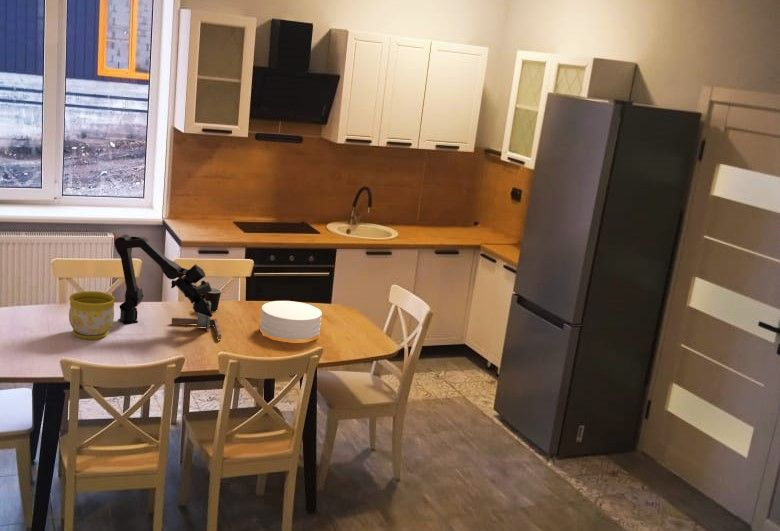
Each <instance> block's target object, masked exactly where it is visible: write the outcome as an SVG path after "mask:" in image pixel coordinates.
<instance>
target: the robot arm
mask: <svg viewBox="0 0 780 531" xmlns="http://www.w3.org/2000/svg"><path fill="white" fill-rule="evenodd" d="M113 243H114V247H115V249H116V252H117V254H118V256H119V257H120V262H121V265H122V266H121V267H122V271H123V278H124V282H125V292H124V293H125V294H124V301H123V303H121V304H120V305H119V309H120V312H119V313H120V314H119V317H120V318H118V319H117V320H118V321H119V322H120V323H122V324H124V325H129V324H137V323H139V321H138V314H139V313H138V312H139V311H138V308H137V307H138V306H139V305H140V304H141V303H142V302H143V299H144V294H143V288H139V286H138V284H137V279H136V274H135V273H136V272H135V268H134V263H133V257H132V252H133V249H134V248H135V249H136V248H137V249H138V248H140V249H141V250H142V251H143V252H144V253H145V254H146V255H148V256H149V257H150V259H152V260H153V262H155V263H156V264H157V265H158V266H159V267H160V269H161V271H162V273H163V274H164V276H166V278H167V279H169V280H171V287H170V289H174V288H175V287H176V288H177V289H178V290H179V291H180V292H181V294H183V295H184V298H187V299H188V300H189V301H190V303H191V304H192V310H193V312H195V313H198V312H199V313H201V314H204V315H207V316H209V317H210V318H211V317H213V314H212V312H210V311H209V309H208V308H207V301H206V300H205V294H204V293H207V292H211V291H212V289H211V288H212V287H211V284H210V282H208V281H205V280H203V279H204V278H206V272H205V271H204V269H203V268H202V267H200V266H198V265H197V264H194V265H193V266H191V267H190V268H189V269H187V268H184V267H182V266H180V265H179V264H178V263H176V262H175V261H173V260H171V259H169V258H167V256H165V255H164V254H163V253H162V252H161V251H160V250H159V249H158V248H157V247H156V246H154V244H153V243H151V242H150V241H149V239H148V238H147V237H144V236H143V237H141V236H140V237H139V236H130V235H129V234H123V235H120V236H119V237H117V238H116V239H115V240H114V242H113ZM199 281H200V284H199V285H195V284H196V283H198V282H199Z"/></svg>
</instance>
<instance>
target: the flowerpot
mask: <svg viewBox="0 0 780 531" xmlns="http://www.w3.org/2000/svg"><path fill="white" fill-rule="evenodd" d="M68 299H69V301H70V303H69V306H70V307H69V311H68V321H69V325H70V326H71V328H72V333H73V334H74V335H75V336H76V338H79V339H84V340H99V339H102V338H105V337H107V335H108V334H109V332H110V328H111V327H112V325H113V323H114V319H115V308H114V306H115V302H116V297H115V296H114V295H112V294H110V293H106V292H102V291H95V290H94V291H91V290H90V291H88V290H87V291H79V292H75V293H73V294H71V295H70V296H69V298H68Z"/></svg>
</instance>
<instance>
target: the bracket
mask: <svg viewBox="0 0 780 531" xmlns="http://www.w3.org/2000/svg"><path fill="white" fill-rule="evenodd" d="M207 308H208V309H209V311H210V312H211V302H210V301H207ZM211 313H212V312H211ZM210 319H211V317H209V316H207V315H204V314H201V313H199V312H197V325H196V328H197V327H206V329H205V330H209V331H210V326H209V325H210Z"/></svg>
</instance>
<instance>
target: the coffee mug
mask: <svg viewBox="0 0 780 531" xmlns="http://www.w3.org/2000/svg"><path fill="white" fill-rule="evenodd" d="M211 289H212V291H211V292H207V293H204V294H205V300H206V301H210V302H211V311H216V310H217V311H218V308H219V304H220V299H221V294H222V290H221V289H219V288H216V287H211ZM217 311H216V312H217Z"/></svg>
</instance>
